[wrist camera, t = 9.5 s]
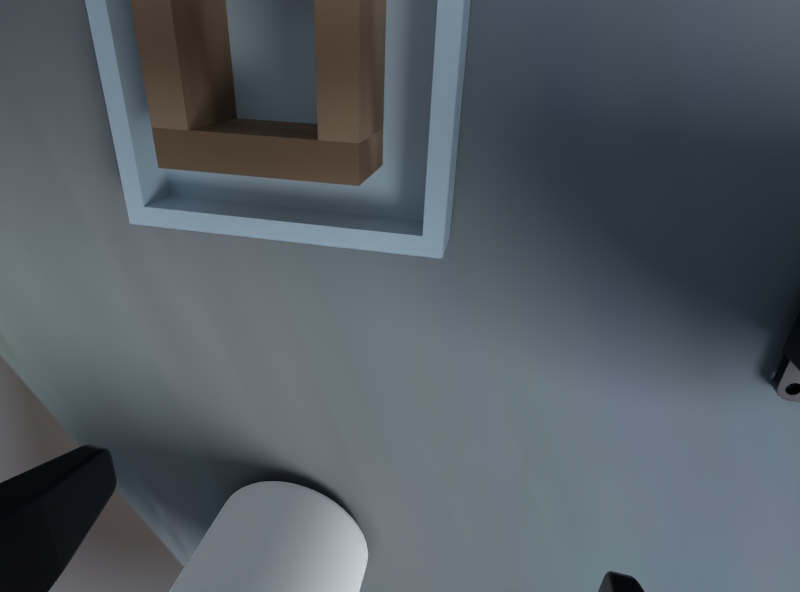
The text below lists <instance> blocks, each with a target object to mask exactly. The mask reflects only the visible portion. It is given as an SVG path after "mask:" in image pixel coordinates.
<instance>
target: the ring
mask: <svg viewBox="0 0 800 592" xmlns="http://www.w3.org/2000/svg"><path fill="white" fill-rule="evenodd" d="M130 3H131V9H132V15H133V21H134V27H135V33H136V39H137V45H138V51H139V57H140V62H141V68H142V74H143V80H144V86H145V92H146V98H147V104H148V110H149V116H150V122H151V127H152V133H153V139H154V145H155V151H156V157H157V163H158V168H164V169H175V170H186V171H197V172H208V173H219V174H230V175H242V176H253V177H264V178H275V179H286V180H297V181H308V182H319V183H330V184H341V185H353V186H360V185H361V184H362V183H363V182H364V181H365V180H366V179H368V178H369V177H370V176H371V175H372V174H373V173H374V172H376V171H377V170H378V169H379V168H380V167H381V166H382V165H383V124H384V83H385V41H386V0H314V27H315V59H316V92H317V124H311V123H297V122H283V121H269V120H255V119H240V118H237V112H236V102H235V92H234V81H233V71H232V61H231V50H230V40H229V30H228V19H227V9H226V0H130Z"/></svg>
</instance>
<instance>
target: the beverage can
mask: <svg viewBox="0 0 800 592" xmlns="http://www.w3.org/2000/svg"><path fill="white" fill-rule="evenodd" d="M367 561H368V549H367V544H366V541H365V538H364V535H363V533H362V531H361V529H360V528H359V526H358V525H357V523H356V522H355V521H354V519H353V518H352V517H351V516H350V515H349V514H348V513H347V512H346V511H345V510H344V509H343V508H342V507H341V506H339V505H338V504H337V503H336V502H334V501H333V500H331V499H330V498H328V497H326V496H325V495H323V494H321V493H319V492H317V491H315V490H312V489H310V488H307V487H304V486H301V485H298V484H293V483H288V482H281V481H265V482H258V483H253V484H250V485H247V486H245V487H243V488H241V489H239V490H237V491H236V492H235V493H233V494H232V495H231V496H230V497H229V499H228V500H227V501H226V503H225V504H224V506H223V507H222V509H221V511H220V512H219V514H218V515H217V517H216V518H215V520H214V522H213V523H212V525H211V526H210V528H209V529H208V531H207V533H206V534H205V536H204V537H203V539H202V540H201V542H200V544H199V545H198V547H197V548H196V550H195V551H194V553H193V555H192V556H191V558H190V559H189V561H188V562H187V564H186V566H185V567H184V569H183V570H182V572H181V573H180V575H179V577H178V578H177V580H176V582H175V583H174V584H173V586H172V588H171V589H170V591H169V592H359V590H360V587H361V583H362V580H363V576H364V573H365V569H366V565H367Z"/></svg>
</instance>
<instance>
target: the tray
mask: <svg viewBox="0 0 800 592" xmlns="http://www.w3.org/2000/svg"><path fill="white" fill-rule="evenodd" d="M85 3H86V8H87V13H88V18H89V23H90V28H91V33H92V38H93V43H94V48H95V53H96V58H97V63H98V68H99V72H100V77H101V82H102V87H103V92H104V97H105V102H106V107H107V112H108V117H109V122H110V127H111V132H112V137H113V142H114V147H115V152H116V157H117V162H118V167H119V172H120V176H121V181H122V186H123V191H124V196H125V201H126V206H127V211H128V216H129V221H130V224H137V225H146V226H154V227H163V228H172V229H181V230H190V231H199V232H208V233H217V234H226V235H235V236H244V237H252V238H261V239H270V240H279V241H288V242H297V243H306V244H315V245H324V246H333V247H342V248H351V249H359V250H368V251H377V252H386V253H395V254H404V255H413V256H422V257H431V258H440V259H442V258H443V255H444V252H445V249H446V246H447V243H448V240H449V237H450V227H451V216H452V205H453V194H454V183H455V171H456V160H457V149H458V138H459V127H460V115H461V104H462V93H463V82H464V71H465V59H466V48H467V37H468V26H469V15H470V3H471V0H386V41H385V83H384V124H383V165H382V166H381V167H380V168H379V169H378V170H377V171H376V172H374V173H373V174H372V175H371V176H370V177H369V178H368V179H366V180H365V181H364V182H363V183H362V184H361V185H360V186H353V185H341V184H330V183H319V182H308V181H297V180H286V179H275V178H264V177H253V176H242V175H230V174H219V173H208V172H197V171H186V170H175V169H164V168H158V163H157V157H156V151H155V145H154V139H153V133H152V127H151V122H150V116H149V110H148V104H147V98H146V92H145V86H144V80H143V74H142V68H141V62H140V57H139V51H138V45H137V39H136V33H135V27H134V21H133V15H132V9H131V3H130V0H85ZM226 9H227V19H228V30H229V40H230V50H231V61H232V71H233V81H234V92H235V102H236V112H237V118H240V119H255V120H269V121H283V122H297V123H311V124H317V92H316V59H315V27H314V0H226Z"/></svg>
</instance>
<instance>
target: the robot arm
mask: <svg viewBox="0 0 800 592" xmlns="http://www.w3.org/2000/svg"><path fill="white" fill-rule="evenodd" d="M783 352H784V353H785V354H784V357H783V359H782V361H781V363H780V366H779V368H778V370H777V372H776V375H775V377H774V379H773V383H772V386H773V389H774V390H775V391H776V393H777V394H778V395H779V396H780V397H781V398H782V399H785V400H788V401H794V402H800V312H799V314H798V317H797V319H796V321H795V323H794V326H793V328H792V330H791V333H790V335H789V337H788V339H787V342H786V344H785V346H784V348H783ZM792 383H796V384H795V386H794V387H792V388H786V387H787V386H788V385H790V384H792ZM785 388H786V389H785ZM116 483H117V478H116V474H115V470H114V465H113V461H112V457H111V453H110V451H109V450H108V449H106V448H103V447H99V446H95V445H84V446H81V447H79V448H77V449H74V450H72V451H70V452H68V453H66V454H63V455H61V456H59V457H57V458H55V459H52V460H50V461H48V462H46V463H44V464H41V465H39V466H37V467H35V468H32V469H30V470H28V471H26V472H24V473H21V474H19V475H17V476H15V477H13V478H10V479H8V480H6V481H4V482H2V483H0V592H48V591H49V590H50V589H51V587H52V586H53V585H54V583H55V582H56V581H57V579H58V578H59V576H60V575H61V574H62V572H63V571H64V569H65V568H66V566H67V565H68V563H69V562H70V560H71V559H72V557H73V556H74V554H75V553H76V551H77V550H78V548H79V546H80V545H81V543H82V542H83V540H84V539H85V537H86V535H87V534H88V532H89V531H90V529H91V527H92V526H93V524H94V522H95V521H96V520H97V518H98V516H99V515H100V513H101V512H102V510H103V509H104V507H105V505H106V503H107V502H108V501H109V499H110V497H111V496H112V494H113V492H114V490H115V487H116ZM598 592H644V590H643V589H642V587H641V586H640V584H639V583H638V581H637V580H636V579H635V578H633V577H632V576H629V575H625V574H621V573H617V572H613V571H609V572H607V573H606V575H605V576H604V579H603V581H602V584H601V586H600V588H599V591H598Z"/></svg>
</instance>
